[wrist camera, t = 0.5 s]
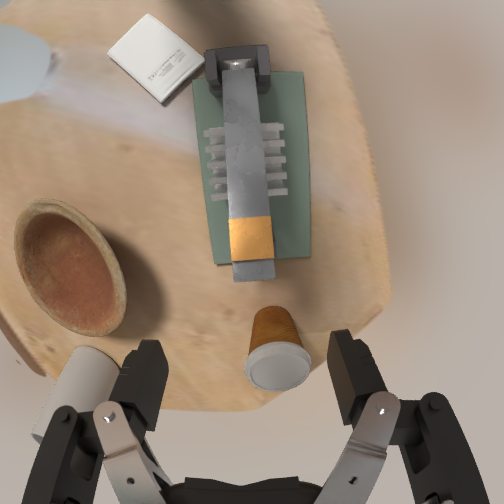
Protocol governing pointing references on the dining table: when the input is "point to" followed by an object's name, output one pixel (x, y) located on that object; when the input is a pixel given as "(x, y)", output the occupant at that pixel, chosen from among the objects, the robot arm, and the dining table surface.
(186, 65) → the external hard drive
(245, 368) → the disposable coffee cup
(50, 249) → the bowl
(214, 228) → the board
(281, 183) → the heatsink
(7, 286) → the dining table surface
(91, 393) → the cylinder vase
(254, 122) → the strap
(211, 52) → the hinge post
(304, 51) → the dining table surface
